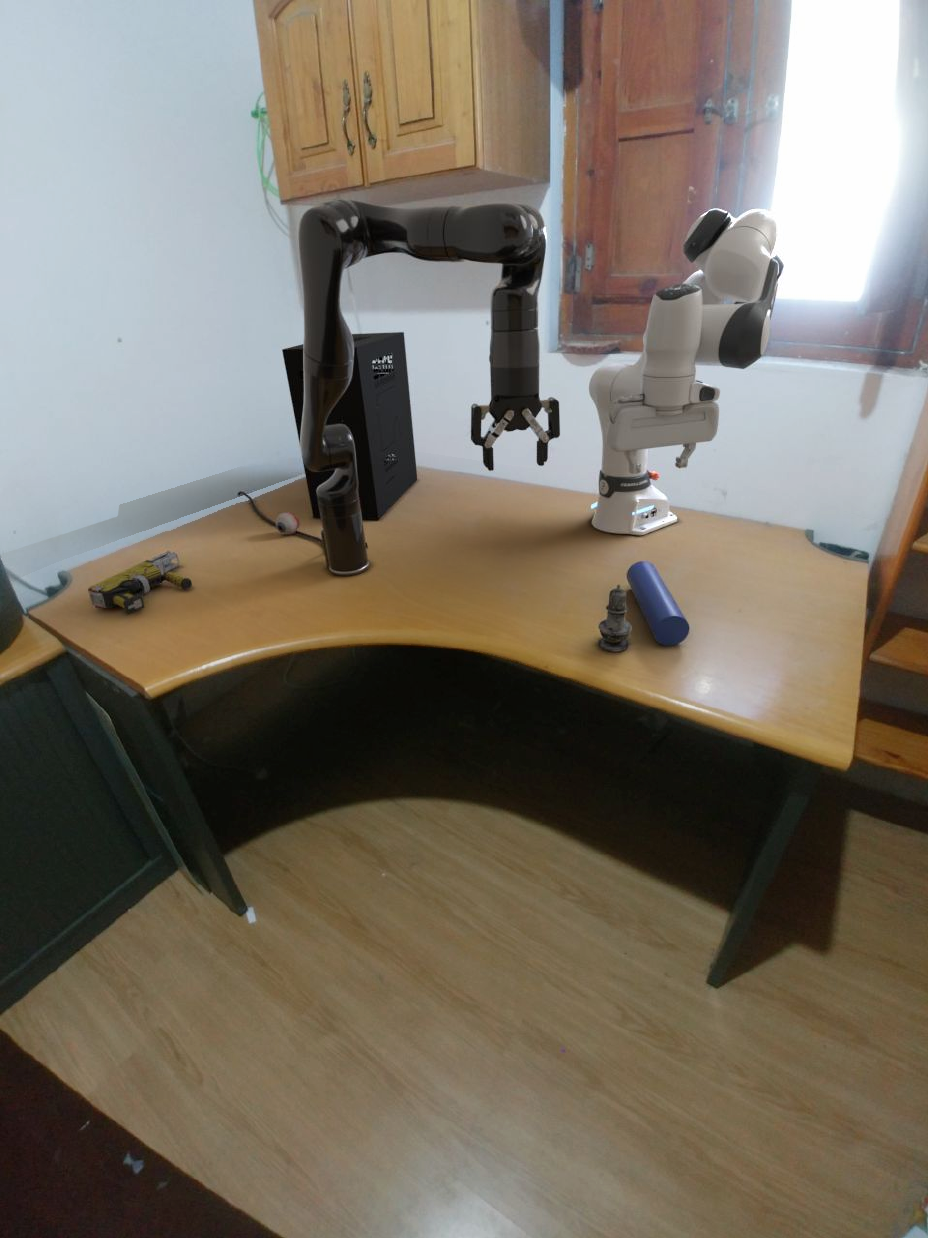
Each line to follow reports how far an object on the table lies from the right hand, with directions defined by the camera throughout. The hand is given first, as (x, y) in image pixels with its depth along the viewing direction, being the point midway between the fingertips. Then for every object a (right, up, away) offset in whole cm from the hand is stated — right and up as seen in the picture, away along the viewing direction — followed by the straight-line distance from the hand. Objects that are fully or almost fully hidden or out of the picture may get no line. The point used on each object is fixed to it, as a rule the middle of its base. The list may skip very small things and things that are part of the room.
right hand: (657, 470), depth 112 cm
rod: (+1, -27, +6) cm, 27 cm away
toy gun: (-107, -21, +27) cm, 112 cm away
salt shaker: (-9, -32, -2) cm, 34 cm away
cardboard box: (-66, +10, +77) cm, 102 cm away
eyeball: (-84, -5, +53) cm, 100 cm away
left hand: (-27, -2, -12) cm, 30 cm away
